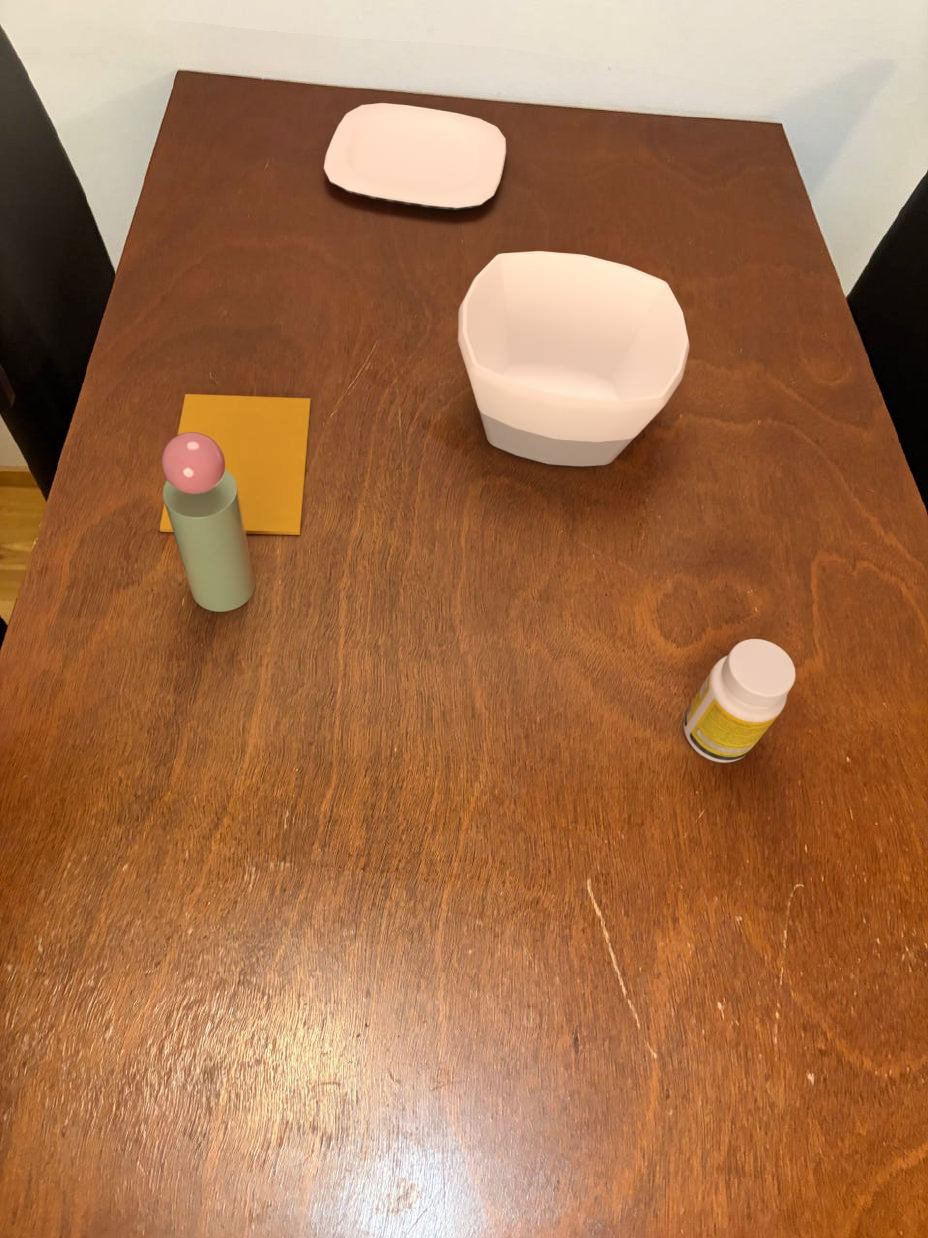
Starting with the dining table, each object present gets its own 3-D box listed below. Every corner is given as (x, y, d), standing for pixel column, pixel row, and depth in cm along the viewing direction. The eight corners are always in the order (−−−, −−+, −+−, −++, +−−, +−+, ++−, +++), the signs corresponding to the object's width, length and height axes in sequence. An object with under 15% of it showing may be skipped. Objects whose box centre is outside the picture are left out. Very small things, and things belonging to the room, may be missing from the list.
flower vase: (247, 615, 61) (217, 474, 49) (183, 608, 61) (138, 464, 49) (261, 564, 63) (235, 418, 52) (199, 557, 63) (160, 409, 52)
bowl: (661, 362, 79) (693, 270, 72) (656, 511, 69) (692, 422, 62) (465, 329, 80) (475, 233, 72) (432, 472, 70) (440, 379, 62)
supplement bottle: (762, 760, 58) (815, 699, 51) (693, 768, 57) (738, 707, 50) (738, 696, 61) (785, 629, 54) (673, 703, 60) (712, 636, 53)
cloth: (300, 535, 65) (299, 531, 65) (160, 531, 64) (159, 528, 64) (310, 401, 73) (310, 398, 73) (186, 397, 72) (185, 393, 72)
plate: (312, 200, 89) (311, 184, 87) (350, 110, 99) (349, 94, 97) (491, 229, 88) (493, 213, 87) (510, 135, 99) (512, 119, 97)
